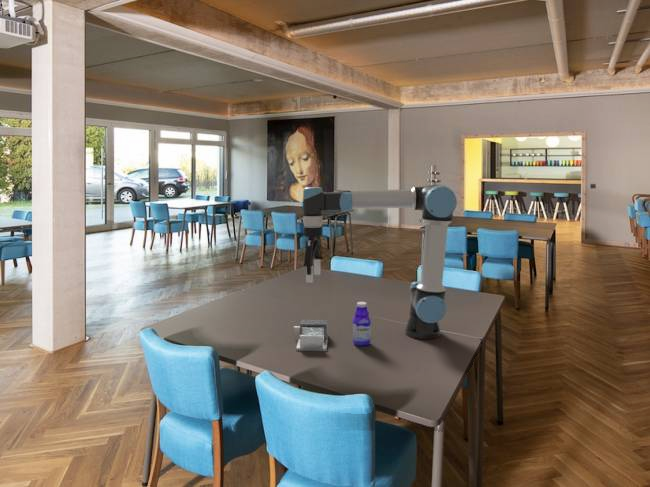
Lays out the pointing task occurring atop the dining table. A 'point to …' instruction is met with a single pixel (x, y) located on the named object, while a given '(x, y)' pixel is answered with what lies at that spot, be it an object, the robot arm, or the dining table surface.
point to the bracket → (312, 339)
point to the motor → (312, 324)
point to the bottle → (361, 325)
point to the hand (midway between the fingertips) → (313, 278)
